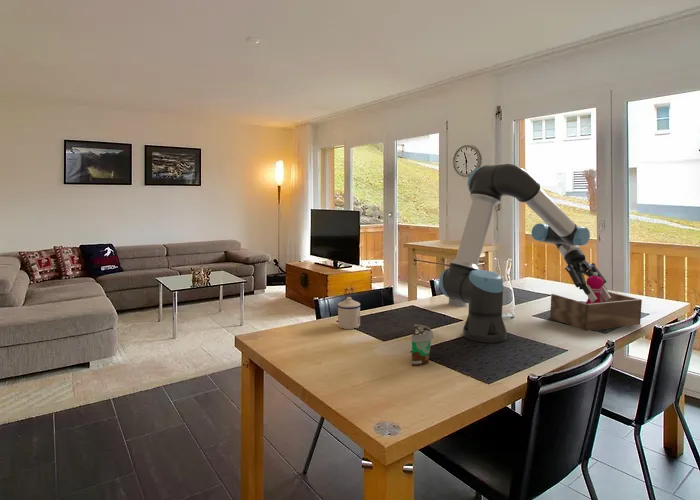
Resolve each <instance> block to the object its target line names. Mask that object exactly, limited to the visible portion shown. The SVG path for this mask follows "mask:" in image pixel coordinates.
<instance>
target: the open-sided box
mask: <svg viewBox="0 0 700 500" xmlns="http://www.w3.org/2000/svg"><path fill="white" fill-rule="evenodd" d="M607 292H608V293H609V295H610V296H611V298H610V299H609V300H608V301H605V300H604V298H603V297H602V295H601V294H600V301H601V303H592V304H586V302H583V301H578V300H575V299H573V298H568V297H565V296H561V295H558V294H554V293H552V294H550V295H551V296H550V309H549V310H550V313H549V314H550V316H549V318H550V319H552V320H556V321H557V322H561V323H564V324H567V325H569V326H572V327H575V328H577V329H579V330H583V331H585V332H587V331H595V330H605V329H613V328H623V327H630V326H631V327H632V326H640V325H641V319H642V304H643V300H642V299H641V298H636V297H633V296H628V295H625V294H620V293H617V292H612V291H608V290H607Z"/></svg>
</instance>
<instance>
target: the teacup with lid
mask: <svg viewBox="0 0 700 500" xmlns="http://www.w3.org/2000/svg"><path fill="white" fill-rule="evenodd" d="M361 305H362V304H361V303H360V302H359V301H356V300H354V299H352V297H351V296H347V297H346V299H344V300H343V301H340V302H338V303H337V320H338V321H337V322H338V323H337V324H338V325H337V326H338V328H340V329H342V328H344V329H343V330H354V328H356V329H358V328H360V327H361ZM359 326H360V327H359Z"/></svg>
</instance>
